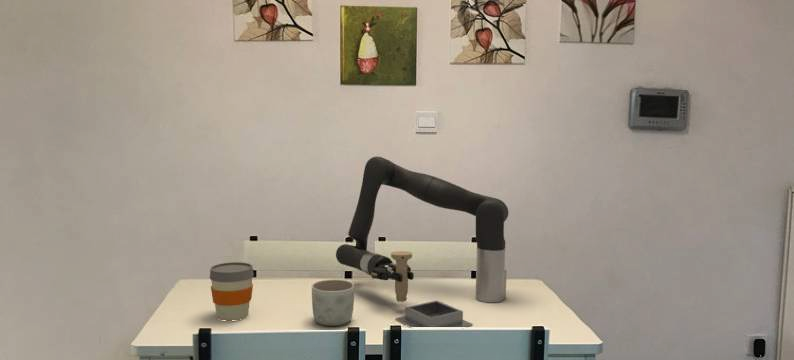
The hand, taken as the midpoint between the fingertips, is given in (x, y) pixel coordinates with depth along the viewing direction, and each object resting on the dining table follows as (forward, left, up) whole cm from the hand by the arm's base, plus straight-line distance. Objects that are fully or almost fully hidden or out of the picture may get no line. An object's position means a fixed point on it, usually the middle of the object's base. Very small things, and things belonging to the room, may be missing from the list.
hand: (406, 277), depth 178 cm
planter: (+22, -6, -12) cm, 26 cm away
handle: (0, -3, -8) cm, 9 cm away
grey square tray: (-2, +11, -11) cm, 16 cm away
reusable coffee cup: (+45, -26, -12) cm, 53 cm away
